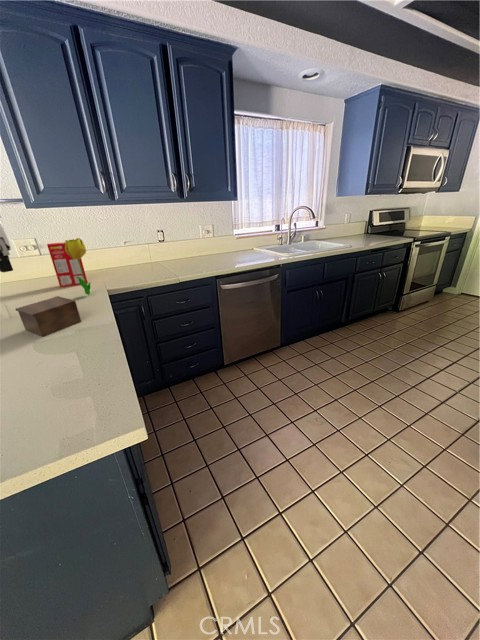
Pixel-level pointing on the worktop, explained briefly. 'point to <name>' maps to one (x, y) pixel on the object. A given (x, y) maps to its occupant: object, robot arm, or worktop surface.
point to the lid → (45, 306)
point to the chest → (51, 320)
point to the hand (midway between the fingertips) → (6, 271)
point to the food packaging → (66, 266)
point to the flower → (77, 257)
